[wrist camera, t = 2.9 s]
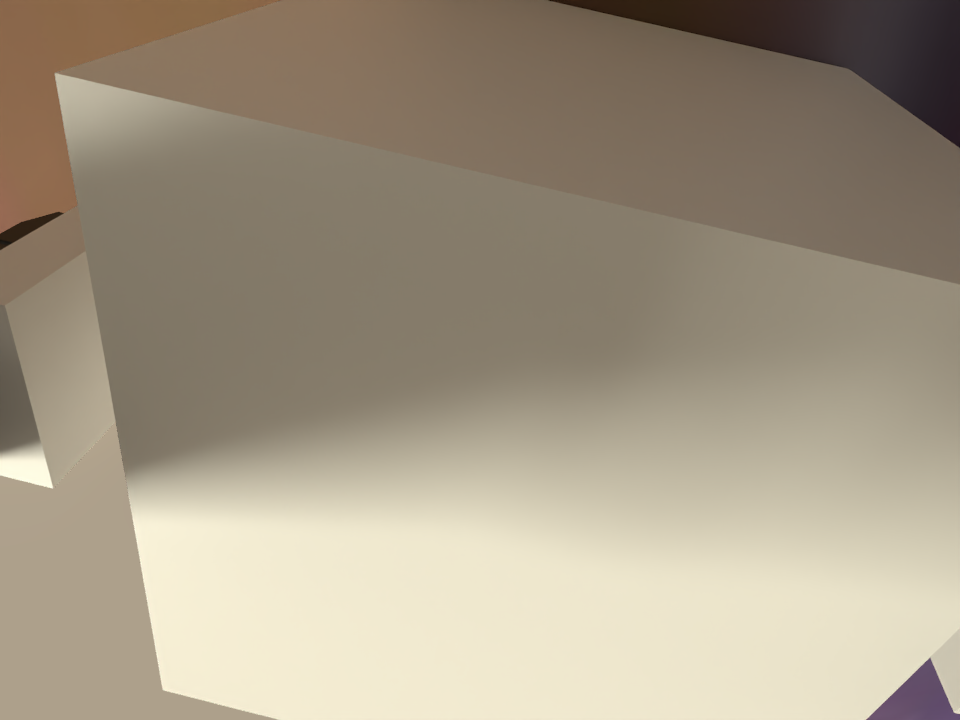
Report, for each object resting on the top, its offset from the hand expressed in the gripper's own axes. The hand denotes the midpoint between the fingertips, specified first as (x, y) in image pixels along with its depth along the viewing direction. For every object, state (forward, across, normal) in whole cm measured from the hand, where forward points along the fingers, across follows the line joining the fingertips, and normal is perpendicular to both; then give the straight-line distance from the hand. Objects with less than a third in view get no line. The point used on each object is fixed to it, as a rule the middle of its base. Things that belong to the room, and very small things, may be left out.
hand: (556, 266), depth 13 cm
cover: (+2, 0, 0) cm, 2 cm away
